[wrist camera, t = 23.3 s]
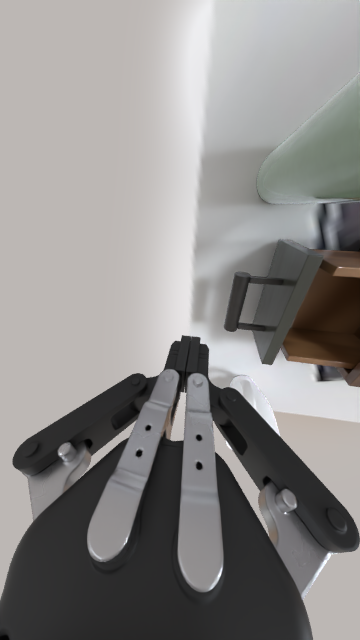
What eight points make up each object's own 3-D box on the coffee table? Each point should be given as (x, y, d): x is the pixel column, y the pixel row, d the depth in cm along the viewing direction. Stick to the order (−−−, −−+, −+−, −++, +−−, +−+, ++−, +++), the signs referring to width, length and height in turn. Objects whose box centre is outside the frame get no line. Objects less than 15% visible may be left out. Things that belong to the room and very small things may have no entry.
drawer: (219, 324, 27) (221, 358, 21) (235, 237, 20) (244, 251, 14) (347, 338, 25) (390, 381, 19) (417, 245, 18) (524, 266, 12)
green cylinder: (263, 144, 16) (477, -114, 3) (316, 143, 15) (864, -185, 2) (251, 203, 19) (338, 200, 6) (296, 204, 18) (508, 203, 5)
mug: (263, 394, 36) (280, 460, 27) (223, 393, 38) (226, 454, 29) (266, 353, 30) (289, 420, 21) (218, 355, 32) (220, 416, 23)
